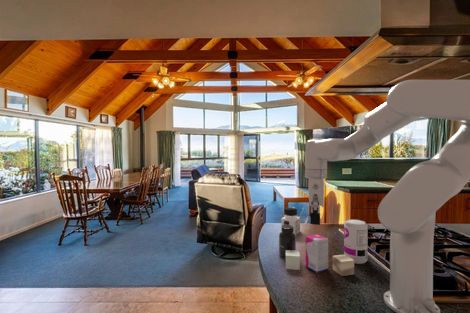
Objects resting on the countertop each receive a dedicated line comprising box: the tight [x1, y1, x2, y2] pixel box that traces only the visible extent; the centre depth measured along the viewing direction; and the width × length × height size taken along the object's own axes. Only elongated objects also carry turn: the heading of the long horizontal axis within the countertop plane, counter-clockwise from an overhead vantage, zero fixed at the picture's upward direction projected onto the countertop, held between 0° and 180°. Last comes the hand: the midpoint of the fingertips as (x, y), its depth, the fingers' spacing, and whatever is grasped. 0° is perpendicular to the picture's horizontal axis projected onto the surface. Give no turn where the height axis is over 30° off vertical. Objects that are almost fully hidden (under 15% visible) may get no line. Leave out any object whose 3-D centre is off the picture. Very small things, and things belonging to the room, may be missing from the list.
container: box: [280, 206, 301, 236], centre depth 130 cm, size 8×8×13 cm
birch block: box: [332, 253, 355, 277], centre depth 88 cm, size 5×5×5 cm
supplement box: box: [305, 233, 329, 274], centre depth 90 cm, size 6×6×12 cm
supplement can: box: [343, 218, 368, 265], centre depth 97 cm, size 8×8×15 cm
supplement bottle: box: [278, 225, 297, 259], centre depth 102 cm, size 7×7×12 cm
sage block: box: [285, 250, 301, 271], centre depth 92 cm, size 5×5×5 cm
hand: (315, 220), depth 90 cm, fingers open, 9 cm apart
